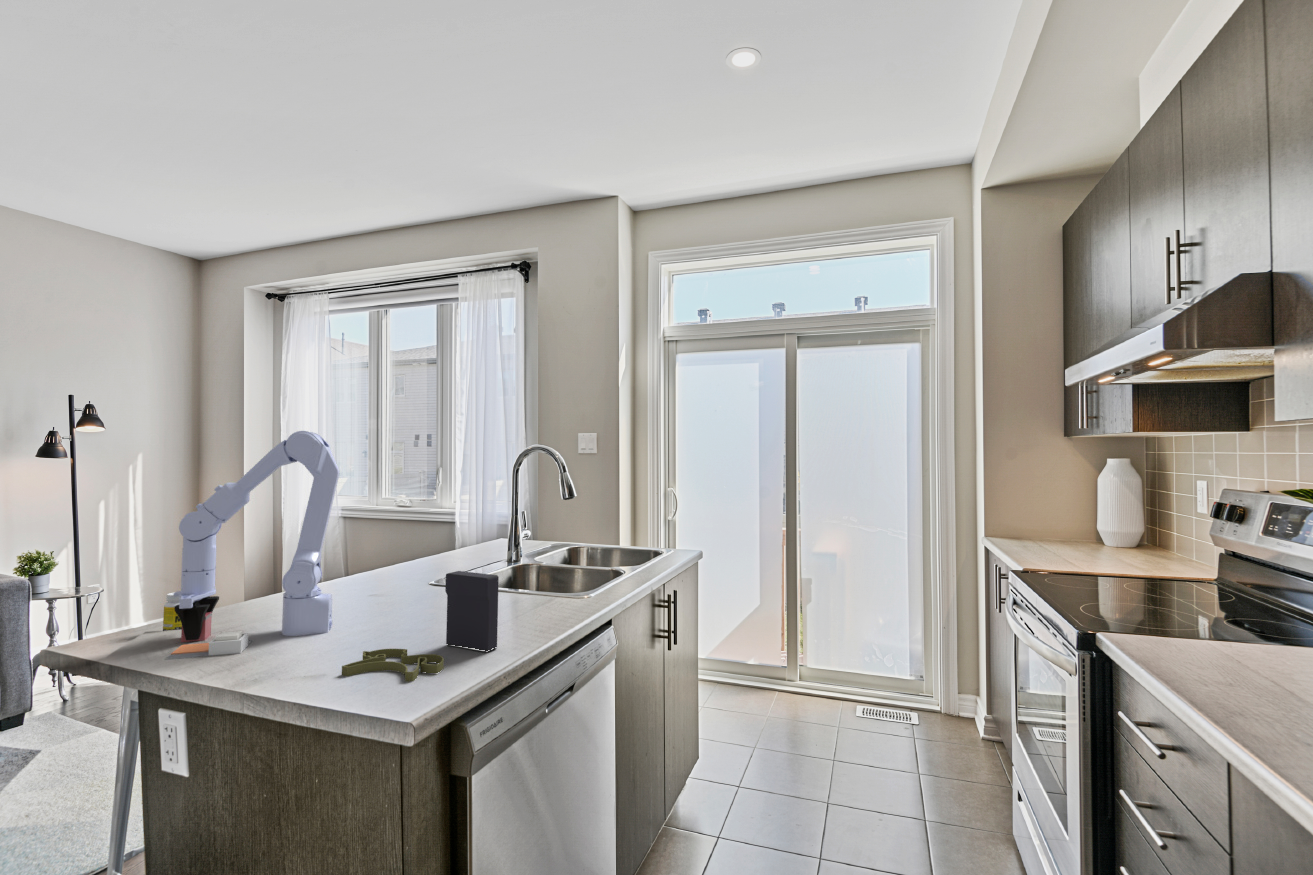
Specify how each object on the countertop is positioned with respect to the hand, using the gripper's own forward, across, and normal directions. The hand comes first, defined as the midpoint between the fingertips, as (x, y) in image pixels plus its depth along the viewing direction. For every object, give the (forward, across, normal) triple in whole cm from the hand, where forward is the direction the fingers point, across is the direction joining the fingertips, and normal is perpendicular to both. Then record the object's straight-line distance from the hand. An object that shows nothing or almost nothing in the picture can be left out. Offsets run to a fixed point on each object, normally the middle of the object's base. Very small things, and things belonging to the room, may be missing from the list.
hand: (196, 636), depth 130 cm
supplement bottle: (+2, -12, -7) cm, 14 cm away
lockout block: (+2, 0, 0) cm, 2 cm away
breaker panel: (+2, +10, +5) cm, 11 cm away
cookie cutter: (+2, +28, +39) cm, 48 cm away
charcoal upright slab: (+2, +19, +53) cm, 56 cm away
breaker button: (0, +11, +8) cm, 14 cm away
